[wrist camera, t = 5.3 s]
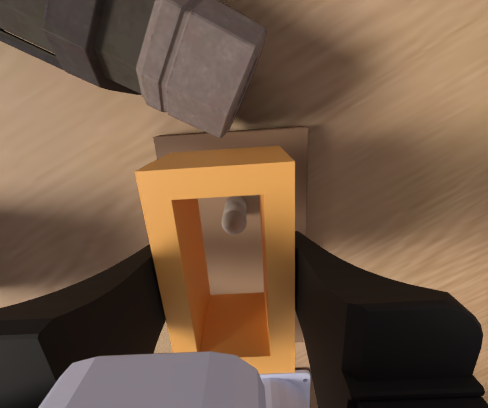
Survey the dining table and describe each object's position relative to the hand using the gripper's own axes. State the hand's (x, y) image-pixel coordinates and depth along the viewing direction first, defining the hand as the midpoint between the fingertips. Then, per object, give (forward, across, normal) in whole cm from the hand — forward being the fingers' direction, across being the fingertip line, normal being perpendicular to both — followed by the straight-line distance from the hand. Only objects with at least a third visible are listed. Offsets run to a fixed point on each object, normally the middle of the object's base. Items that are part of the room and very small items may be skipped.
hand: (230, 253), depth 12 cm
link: (+2, 0, 0) cm, 2 cm away
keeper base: (+8, 0, +4) cm, 9 cm away
